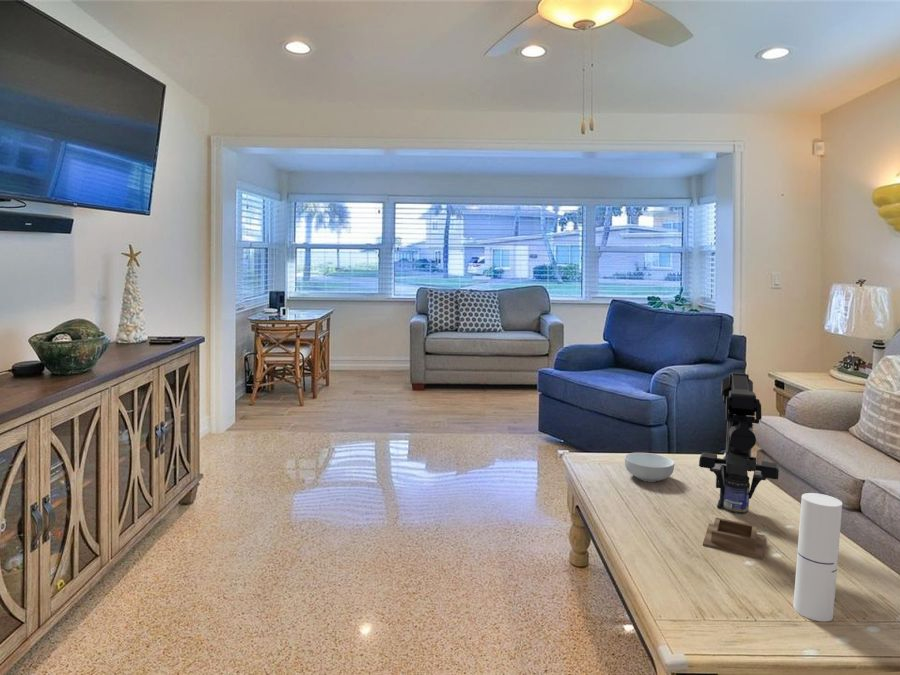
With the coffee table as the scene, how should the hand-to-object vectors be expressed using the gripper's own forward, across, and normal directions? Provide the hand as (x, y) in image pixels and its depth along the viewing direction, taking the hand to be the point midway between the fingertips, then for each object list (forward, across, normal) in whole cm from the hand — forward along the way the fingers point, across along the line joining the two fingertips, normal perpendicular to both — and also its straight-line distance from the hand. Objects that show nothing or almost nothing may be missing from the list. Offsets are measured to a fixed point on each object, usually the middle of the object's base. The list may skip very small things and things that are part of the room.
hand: (736, 495), depth 150 cm
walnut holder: (+13, 0, 0) cm, 13 cm away
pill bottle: (+4, 0, 0) cm, 4 cm away
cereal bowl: (+13, -30, +38) cm, 50 cm away
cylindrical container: (+13, +17, -27) cm, 35 cm away
